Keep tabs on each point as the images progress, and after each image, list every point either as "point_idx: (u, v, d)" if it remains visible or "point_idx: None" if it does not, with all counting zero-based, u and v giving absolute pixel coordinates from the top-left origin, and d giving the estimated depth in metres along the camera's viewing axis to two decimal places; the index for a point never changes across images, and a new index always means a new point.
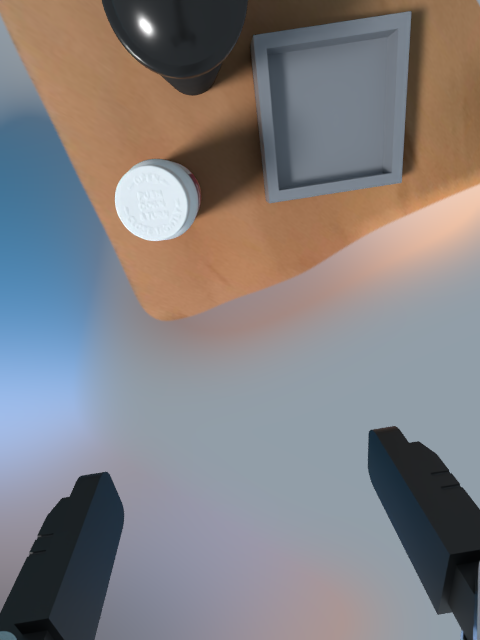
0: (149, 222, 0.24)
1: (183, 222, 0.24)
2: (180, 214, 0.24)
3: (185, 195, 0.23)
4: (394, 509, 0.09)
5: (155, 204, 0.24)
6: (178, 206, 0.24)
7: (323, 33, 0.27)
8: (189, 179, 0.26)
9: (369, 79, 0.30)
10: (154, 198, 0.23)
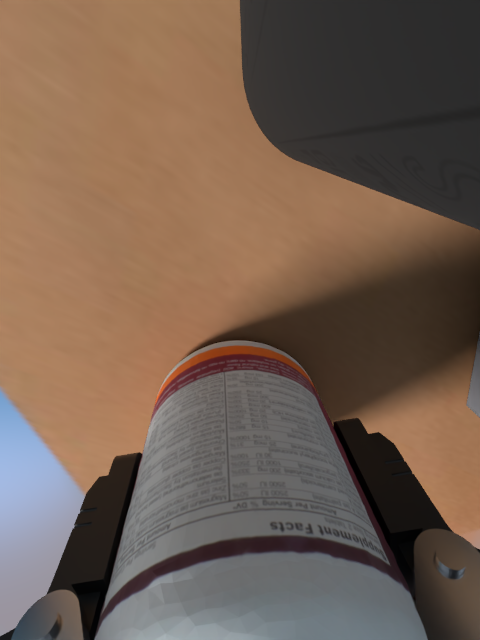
0: None
1: None
2: None
3: None
4: None
5: None
6: None
7: None
8: None
9: None
10: None
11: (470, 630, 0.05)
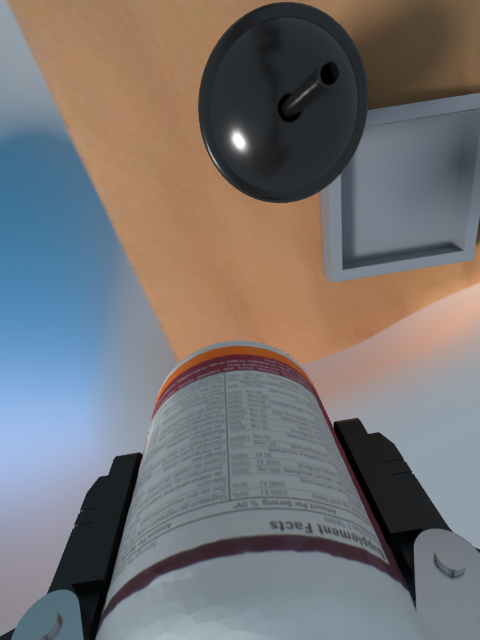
0: None
1: None
2: None
3: None
4: None
5: None
6: None
7: (402, 113, 0.25)
8: None
9: (443, 154, 0.28)
10: None
11: (469, 629, 0.05)
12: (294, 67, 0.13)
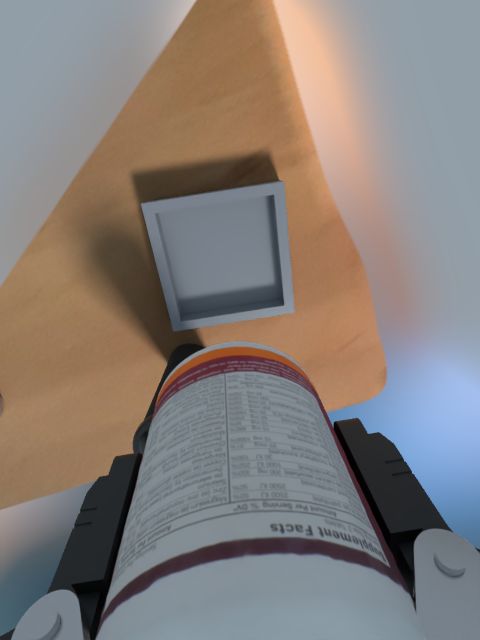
0: None
1: None
2: None
3: None
4: None
5: None
6: None
7: (166, 279, 0.33)
8: None
9: (191, 222, 0.33)
10: None
11: (469, 629, 0.05)
12: None
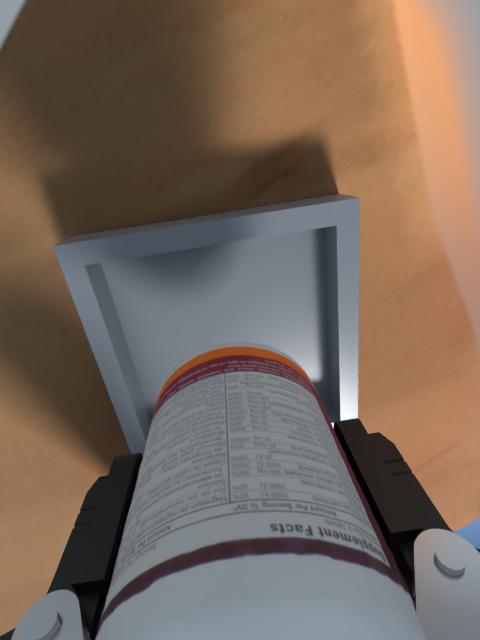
0: None
1: None
2: None
3: None
4: None
5: None
6: None
7: (117, 385, 0.17)
8: None
9: (165, 276, 0.17)
10: None
11: (469, 629, 0.05)
12: None
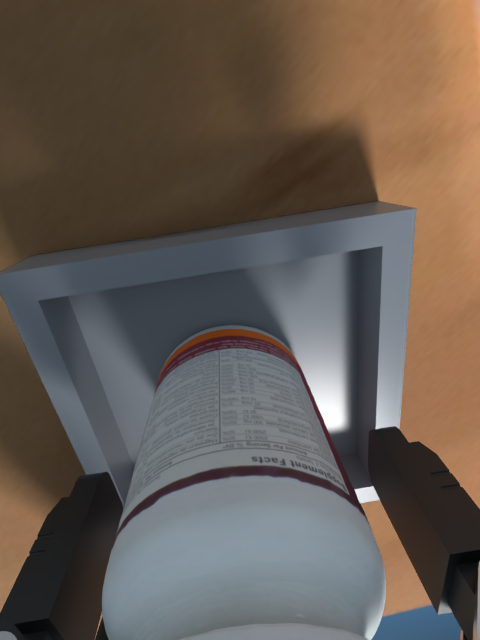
0: None
1: None
2: None
3: None
4: (394, 509, 0.09)
5: None
6: None
7: (89, 449, 0.13)
8: (373, 551, 0.07)
9: (152, 308, 0.13)
10: None
11: None
12: None
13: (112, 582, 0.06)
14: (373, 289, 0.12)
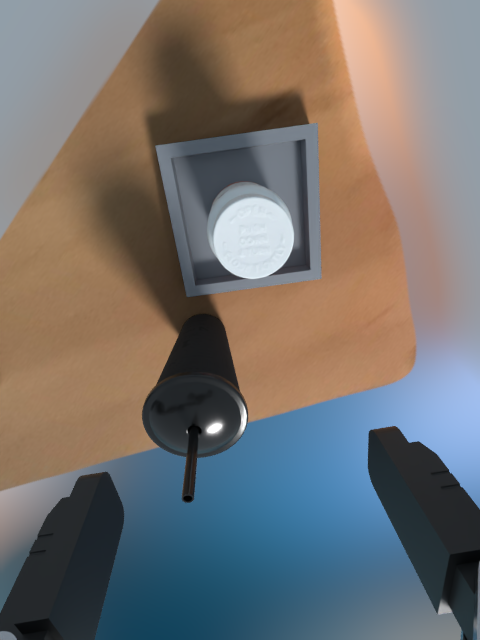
0: (248, 259, 0.21)
1: (286, 259, 0.21)
2: (284, 251, 0.21)
3: (292, 230, 0.21)
4: (394, 509, 0.09)
5: (257, 239, 0.21)
6: (283, 242, 0.21)
7: (180, 236, 0.30)
8: (286, 208, 0.23)
9: (210, 173, 0.29)
10: (256, 233, 0.21)
11: None
12: (174, 428, 0.23)
13: (213, 210, 0.23)
14: (304, 161, 0.28)
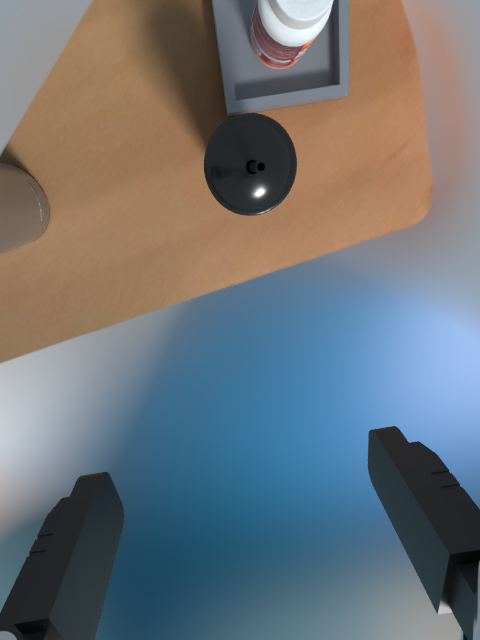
0: None
1: None
2: None
3: None
4: (394, 509, 0.09)
5: None
6: None
7: (224, 44, 0.33)
8: None
9: None
10: None
11: None
12: (234, 165, 0.26)
13: None
14: None
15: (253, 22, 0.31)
